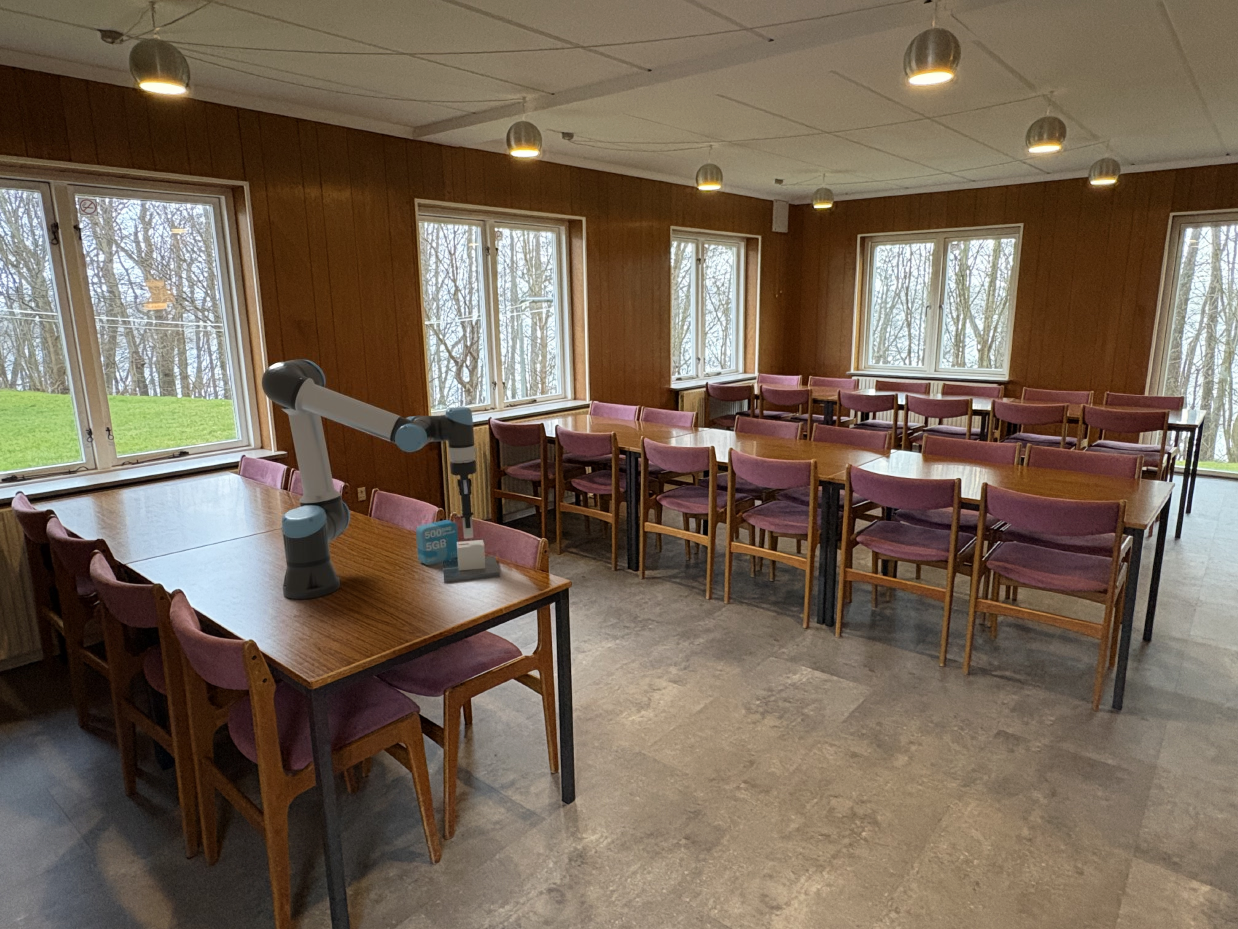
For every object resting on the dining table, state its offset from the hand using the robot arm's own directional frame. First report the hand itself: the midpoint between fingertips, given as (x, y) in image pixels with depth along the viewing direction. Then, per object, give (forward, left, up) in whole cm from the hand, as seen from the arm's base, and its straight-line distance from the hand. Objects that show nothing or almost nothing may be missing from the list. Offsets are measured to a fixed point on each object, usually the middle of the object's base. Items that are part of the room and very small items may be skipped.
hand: (468, 537), depth 231 cm
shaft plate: (0, 0, -11) cm, 11 cm away
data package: (+7, +15, -11) cm, 20 cm away
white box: (0, 0, -9) cm, 9 cm away
